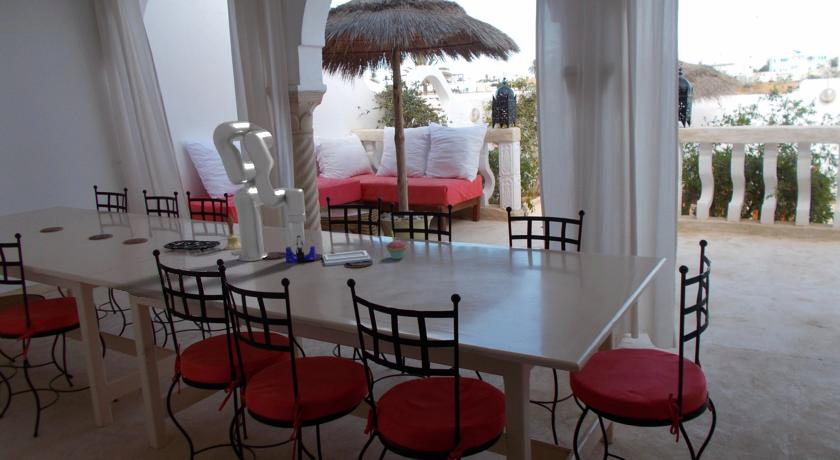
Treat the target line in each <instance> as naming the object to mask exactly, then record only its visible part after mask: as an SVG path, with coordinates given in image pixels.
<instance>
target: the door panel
mask: <svg viewBox="0 0 840 460" xmlns="http://www.w3.org/2000/svg"><path fill="white" fill-rule="evenodd" d="M321 255H322V256H321V257H322V260H323V262H324V263H323V264H324V266H325V267H330V266H339V265H347V264H346V263H349V262H357V261H370V262H372V259H371V258H372V257H371V256H370V255H369V252H367V250H366V249H364V250H363V249H362V250H353V251H344V252H336V251H334V250H333V251H330V253H323V254H321Z"/></svg>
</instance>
